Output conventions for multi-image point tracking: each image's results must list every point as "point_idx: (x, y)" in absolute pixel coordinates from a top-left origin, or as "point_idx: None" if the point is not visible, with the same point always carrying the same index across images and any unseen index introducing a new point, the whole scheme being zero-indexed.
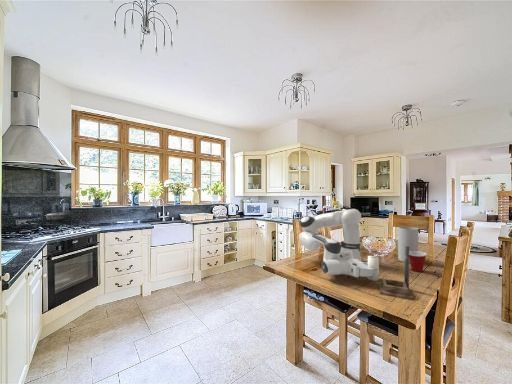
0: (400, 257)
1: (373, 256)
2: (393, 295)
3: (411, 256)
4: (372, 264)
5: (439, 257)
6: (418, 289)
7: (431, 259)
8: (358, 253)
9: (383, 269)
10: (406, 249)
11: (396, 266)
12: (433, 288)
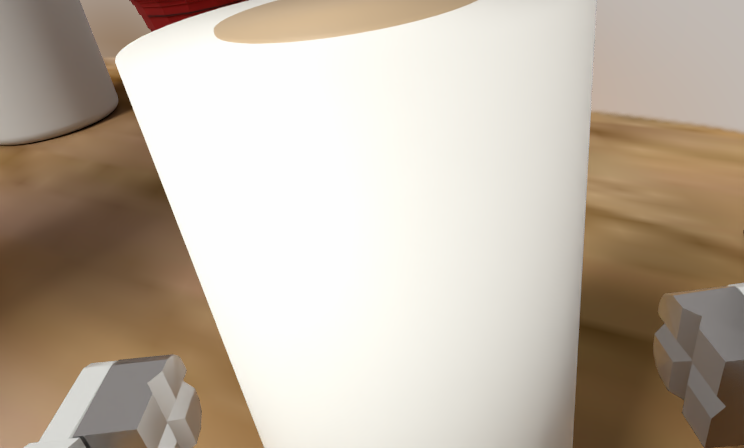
0: (15, 113)
1: (253, 7)
2: None
3: (204, 2)
4: (569, 277)
5: (106, 57)
6: (706, 178)
7: (109, 71)
8: None
9: (102, 269)
10: None
11: (100, 178)
12: (613, 118)
